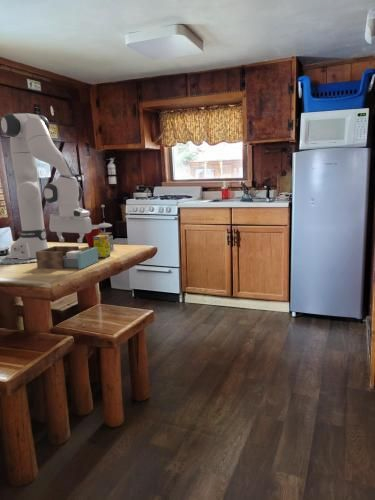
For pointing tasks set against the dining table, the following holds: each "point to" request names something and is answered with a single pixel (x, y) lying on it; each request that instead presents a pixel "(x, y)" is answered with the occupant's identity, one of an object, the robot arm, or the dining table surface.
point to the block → (72, 254)
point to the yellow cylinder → (102, 245)
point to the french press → (107, 233)
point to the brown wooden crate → (53, 256)
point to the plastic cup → (92, 235)
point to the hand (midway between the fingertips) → (70, 242)
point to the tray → (82, 259)
